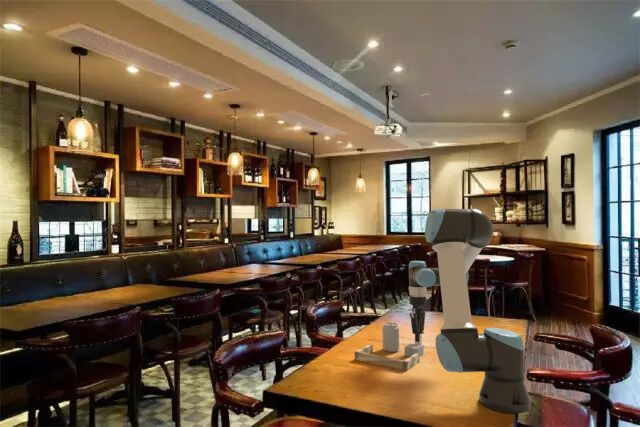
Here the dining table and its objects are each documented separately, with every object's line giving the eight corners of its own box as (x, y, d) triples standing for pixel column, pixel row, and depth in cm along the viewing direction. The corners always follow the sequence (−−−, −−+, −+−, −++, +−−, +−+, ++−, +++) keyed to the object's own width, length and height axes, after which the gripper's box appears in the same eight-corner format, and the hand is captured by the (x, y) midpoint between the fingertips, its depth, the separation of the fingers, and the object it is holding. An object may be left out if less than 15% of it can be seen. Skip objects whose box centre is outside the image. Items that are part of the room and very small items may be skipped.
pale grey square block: (417, 358, 182) (417, 349, 182) (404, 355, 186) (404, 346, 186) (423, 355, 187) (423, 345, 187) (411, 352, 190) (411, 343, 191)
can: (380, 351, 192) (380, 324, 192) (385, 347, 198) (385, 321, 198) (396, 353, 188) (396, 326, 188) (401, 349, 195) (401, 322, 195)
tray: (406, 371, 166) (406, 362, 166) (354, 360, 180) (354, 351, 180) (419, 362, 177) (419, 353, 177) (369, 352, 190) (369, 344, 190)
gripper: (415, 292, 199) (416, 343, 198) (403, 296, 188) (404, 350, 188) (431, 294, 194) (431, 346, 194) (419, 298, 184) (420, 353, 183)
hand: (418, 348), depth 191 cm, fingers closed
